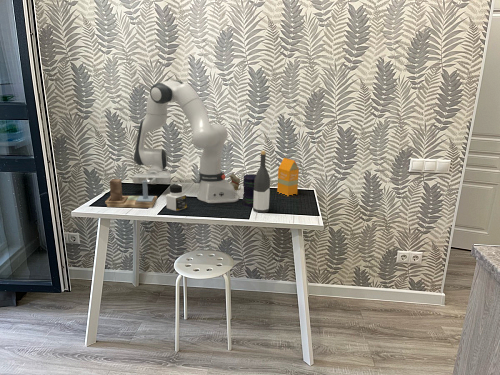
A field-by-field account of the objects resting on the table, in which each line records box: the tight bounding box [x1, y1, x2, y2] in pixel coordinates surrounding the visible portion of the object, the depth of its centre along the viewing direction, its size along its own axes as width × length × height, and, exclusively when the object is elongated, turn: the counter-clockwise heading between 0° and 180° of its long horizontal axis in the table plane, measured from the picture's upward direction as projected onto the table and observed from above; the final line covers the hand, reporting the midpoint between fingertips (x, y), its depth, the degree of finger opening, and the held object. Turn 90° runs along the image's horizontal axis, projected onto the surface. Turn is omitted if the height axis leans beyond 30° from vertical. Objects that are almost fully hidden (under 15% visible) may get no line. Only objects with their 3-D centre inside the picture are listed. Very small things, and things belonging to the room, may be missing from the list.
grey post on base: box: [136, 181, 155, 202], centre depth 205 cm, size 8×8×10 cm
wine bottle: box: [252, 150, 271, 214], centre depth 199 cm, size 8×8×30 cm
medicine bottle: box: [165, 183, 188, 212], centre depth 202 cm, size 7×7×12 cm
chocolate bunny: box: [229, 172, 241, 191], centre depth 235 cm, size 6×8×10 cm
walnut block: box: [109, 178, 123, 201], centre depth 204 cm, size 4×4×11 cm
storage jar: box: [242, 173, 257, 208], centre depth 210 cm, size 10×10×15 cm
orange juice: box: [276, 157, 300, 197], centre depth 229 cm, size 8×9×20 cm
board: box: [104, 195, 158, 209], centre depth 208 cm, size 23×14×3 cm, turn 93°
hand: (149, 182), depth 215 cm, fingers closed
